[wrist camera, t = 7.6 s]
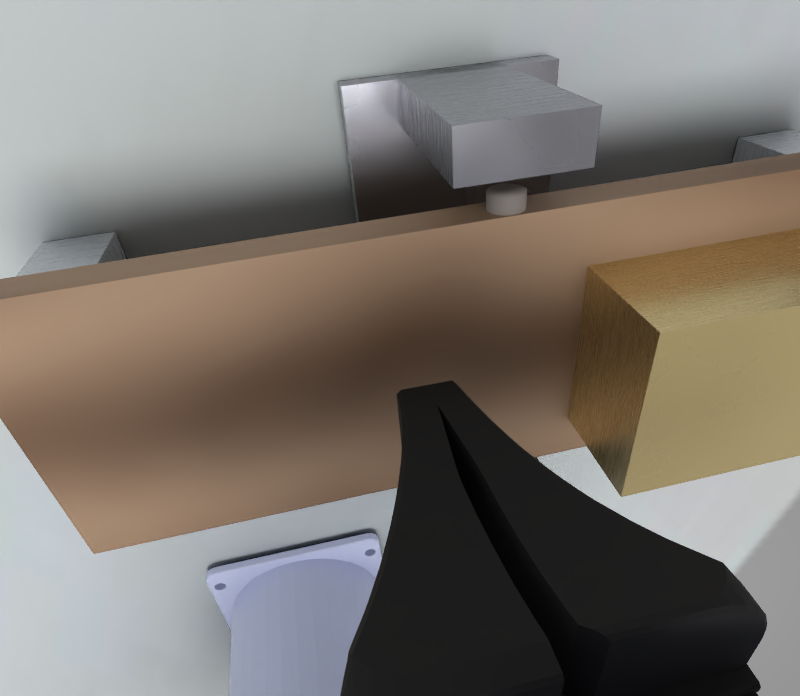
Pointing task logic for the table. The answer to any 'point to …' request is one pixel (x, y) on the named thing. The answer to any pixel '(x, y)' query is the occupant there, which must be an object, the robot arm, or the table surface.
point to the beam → (329, 345)
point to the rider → (690, 362)
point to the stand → (445, 144)
